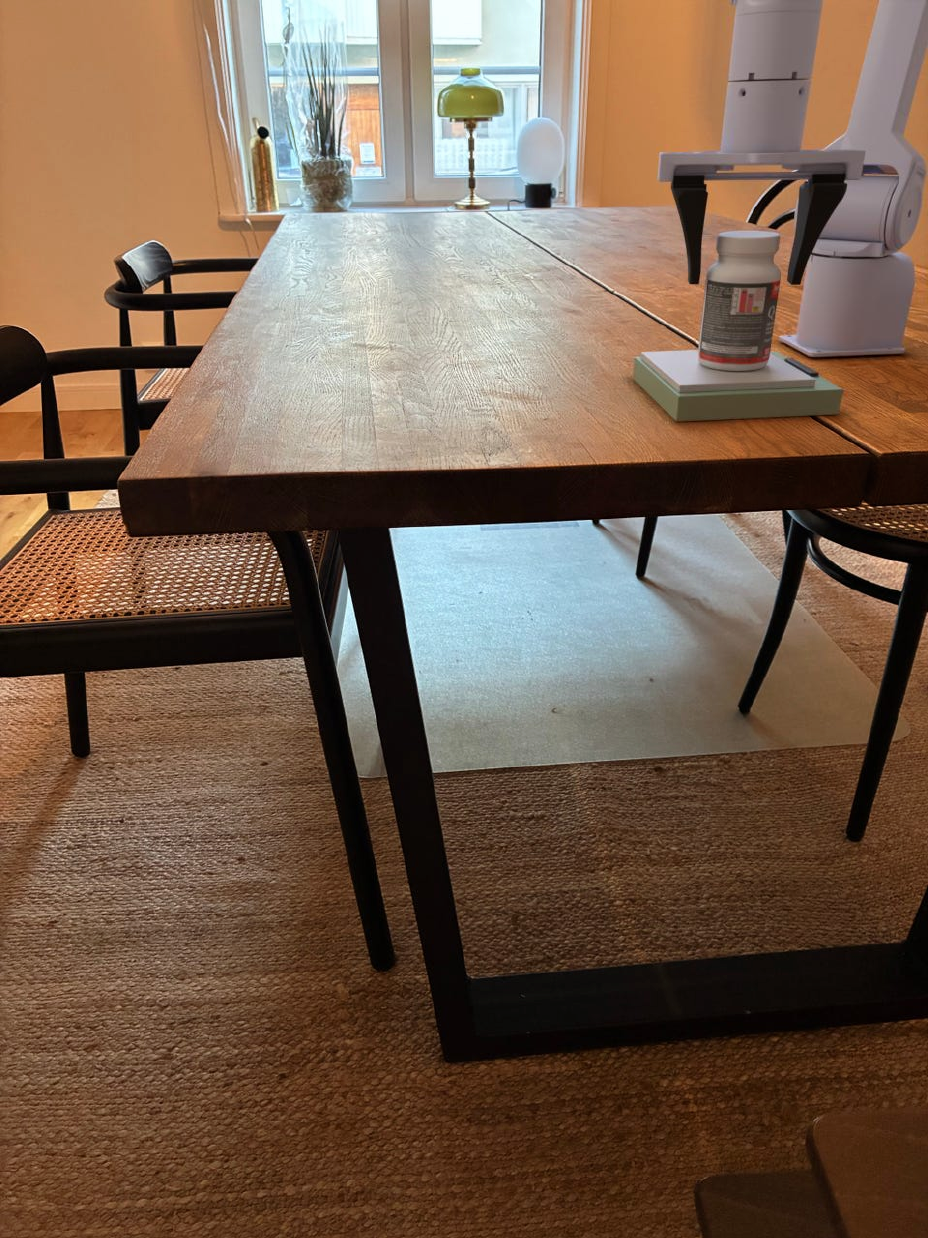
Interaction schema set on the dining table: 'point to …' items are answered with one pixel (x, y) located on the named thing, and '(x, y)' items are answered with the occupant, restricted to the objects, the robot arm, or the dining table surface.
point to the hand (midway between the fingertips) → (743, 282)
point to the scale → (734, 388)
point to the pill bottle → (740, 302)
